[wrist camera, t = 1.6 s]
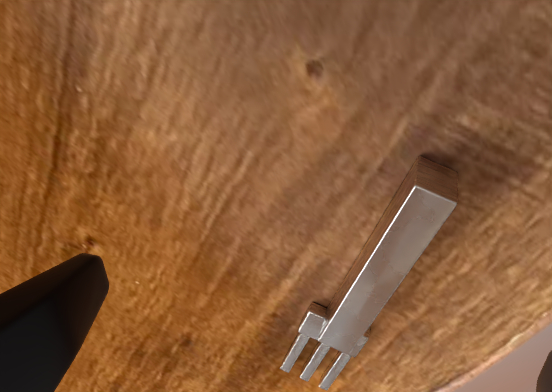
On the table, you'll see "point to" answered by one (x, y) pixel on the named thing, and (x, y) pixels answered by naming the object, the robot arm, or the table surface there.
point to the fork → (377, 270)
